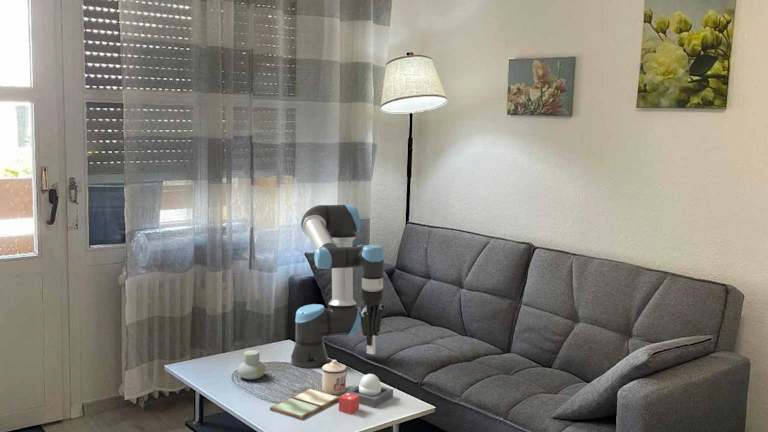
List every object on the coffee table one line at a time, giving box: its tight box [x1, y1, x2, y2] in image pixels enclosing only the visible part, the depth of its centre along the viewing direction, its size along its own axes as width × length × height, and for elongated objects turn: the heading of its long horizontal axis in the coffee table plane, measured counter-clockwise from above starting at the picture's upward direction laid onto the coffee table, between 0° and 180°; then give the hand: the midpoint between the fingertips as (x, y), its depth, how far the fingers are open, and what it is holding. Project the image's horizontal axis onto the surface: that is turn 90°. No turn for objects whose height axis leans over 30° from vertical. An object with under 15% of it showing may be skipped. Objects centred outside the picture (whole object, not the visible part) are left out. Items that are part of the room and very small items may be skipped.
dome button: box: [358, 373, 382, 398], centre depth 267 cm, size 8×8×7 cm
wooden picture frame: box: [269, 388, 340, 421], centre depth 261 cm, size 22×14×1 cm, turn 147°
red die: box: [338, 393, 360, 415], centre depth 256 cm, size 5×5×5 cm
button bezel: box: [345, 385, 394, 409], centre depth 267 cm, size 12×12×3 cm
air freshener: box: [236, 349, 267, 380], centre depth 286 cm, size 11×8×10 cm
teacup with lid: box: [321, 359, 348, 396], centre depth 275 cm, size 12×9×12 cm
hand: (370, 353), depth 265 cm, fingers closed
